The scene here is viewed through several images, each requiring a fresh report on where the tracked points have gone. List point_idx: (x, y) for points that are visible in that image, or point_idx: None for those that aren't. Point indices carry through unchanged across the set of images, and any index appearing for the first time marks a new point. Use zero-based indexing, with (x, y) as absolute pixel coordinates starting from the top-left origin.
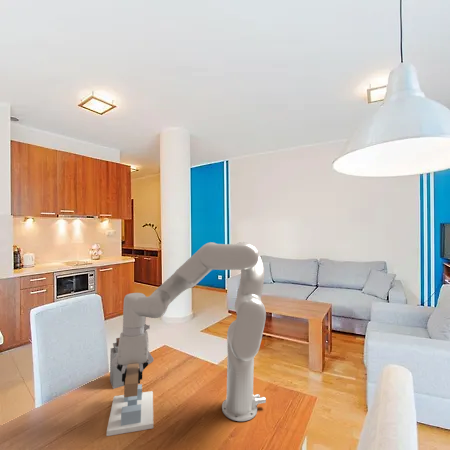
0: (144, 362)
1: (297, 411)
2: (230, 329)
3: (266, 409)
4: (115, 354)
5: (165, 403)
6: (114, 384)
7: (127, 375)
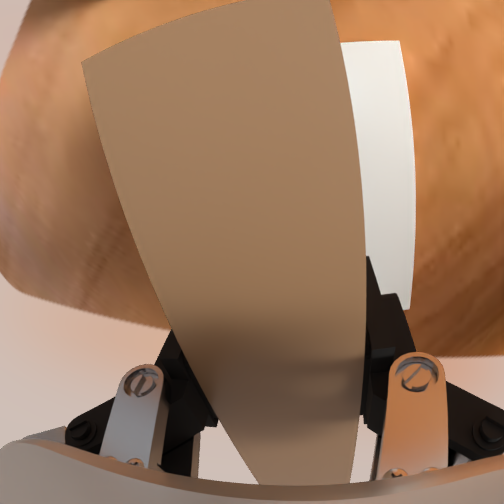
0: (460, 454)
1: None
2: None
3: None
4: None
5: (466, 140)
6: None
7: (244, 438)
